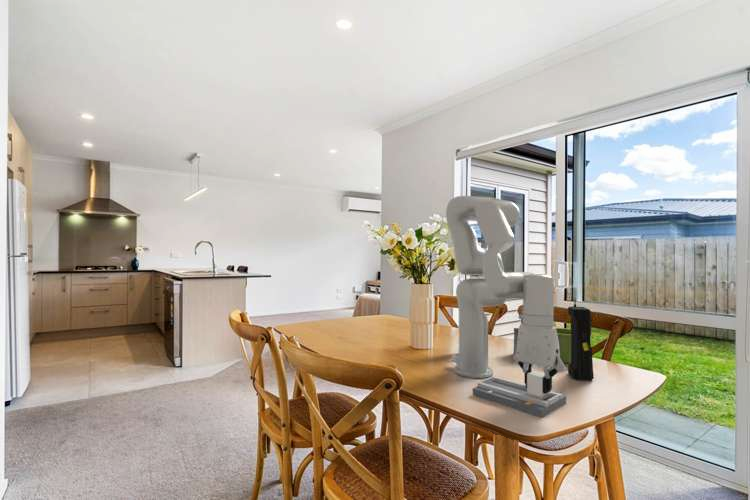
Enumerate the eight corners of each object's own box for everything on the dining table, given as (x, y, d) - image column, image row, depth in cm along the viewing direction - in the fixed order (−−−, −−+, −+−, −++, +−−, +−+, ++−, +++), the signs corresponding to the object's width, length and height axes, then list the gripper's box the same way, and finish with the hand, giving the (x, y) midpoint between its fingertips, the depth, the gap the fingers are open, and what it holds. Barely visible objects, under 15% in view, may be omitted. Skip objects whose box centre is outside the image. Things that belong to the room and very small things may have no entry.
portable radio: (595, 382, 123) (595, 302, 123) (574, 381, 124) (574, 301, 124) (587, 374, 130) (587, 299, 130) (567, 373, 131) (567, 299, 132)
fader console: (472, 395, 111) (472, 384, 111) (499, 384, 120) (499, 374, 120) (541, 417, 96) (541, 404, 96) (566, 403, 105) (566, 391, 105)
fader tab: (525, 397, 104) (525, 374, 104) (535, 392, 107) (535, 370, 107) (540, 401, 101) (540, 378, 101) (550, 396, 104) (550, 373, 104)
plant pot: (544, 362, 145) (544, 331, 145) (549, 355, 155) (549, 326, 155) (581, 367, 138) (581, 335, 138) (583, 359, 149) (583, 330, 149)
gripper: (502, 318, 108) (501, 384, 108) (564, 327, 95) (564, 402, 95) (515, 315, 113) (515, 379, 113) (576, 323, 100) (576, 395, 100)
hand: (538, 389), depth 104 cm, fingers closed on fader tab, 4 cm apart
